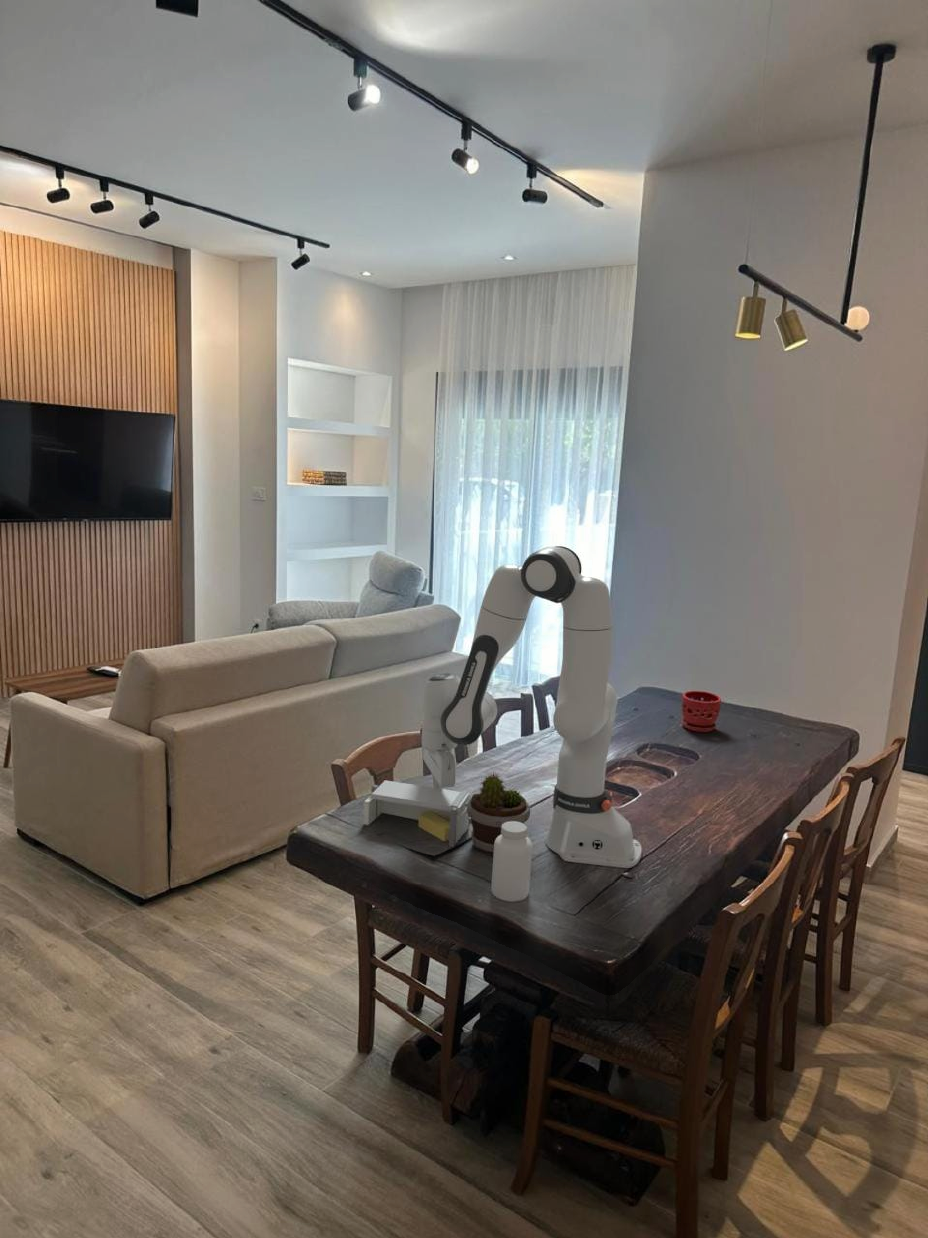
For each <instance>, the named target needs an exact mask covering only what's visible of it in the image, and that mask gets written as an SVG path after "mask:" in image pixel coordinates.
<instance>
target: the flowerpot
mask: <svg viewBox="0 0 928 1238" xmlns="http://www.w3.org/2000/svg"><path fill="white" fill-rule="evenodd" d="M496 772H497V771H492V774H487V775H485V776H484V777H483V779H482V781H481V782H479V783H480V786H482V787H479V793H474V794H473V795H472V797H470V798H469V799H468V800H467V803H466V804H467V814H468V816H469V817H470V818H469V819H470V821H471V826H472V830H471V832H470V836H471V841H472V843H473V845H474V846H475V848H476V849H477V850H478V851H480V852H483V853H484V854H486V855H489V856H493V855H494V843H495V840H496V838H497V837H498V836H499V835H501V826H502V824H503V823H505V822H509V821H516V822H521V823H523V824H525V823H526V822H527V821H528V820H529V819H530V816H531V809H530V805H529V803H528V802H527V801H526V798H524V796H522V795H521V794H520V792H519V791H518V792H517V790H518V789H516V787H514V788H512V787H511V789H510V788H509V787H508V789H509V790H507V789H505V786H506V783H505V780H503V778H502V777H501V776H500V775H499V773H496ZM504 783H505V785H504ZM515 789H516V790H515Z"/></svg>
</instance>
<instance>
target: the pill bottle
mask: <svg viewBox="0 0 928 1238" xmlns="http://www.w3.org/2000/svg"><path fill="white" fill-rule="evenodd" d="M492 856H493V859H492V873H491V886H490V887H491V894H492V895H494V897H496V898H497V899H499V900H501V901H505V902H512V903H513V902H514V903H515V902H520V901H523V900H525V899H526V898H527V897H528V896H529V893H530V883H531V872H532V871H531V870H532V857H533V843H532V841H531V839H530V837H528V827H527V825H525V823H524V824H523V823H521V822H516V821H509V822H505V823H503V824H502V826H501V835H499V836H498V837H497V838H496V840H495V843H494V855H492Z"/></svg>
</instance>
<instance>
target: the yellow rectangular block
mask: <svg viewBox="0 0 928 1238" xmlns="http://www.w3.org/2000/svg"><path fill="white" fill-rule="evenodd" d="M418 827H419V828H421V829H422V830H424V831H425V832H427V833H429V834H431V835H433V836H434V837H436V838H438V839H439V840H441V841H443V842H444V841H445V842H448V841H449V832H450V822H449V821H447V820H445V819H443V818H442V817H440V816H438V815H436V814H434V813H433V812H431V811H428V812H425V813H421V814H419V820H418ZM447 840H448V841H447Z"/></svg>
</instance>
